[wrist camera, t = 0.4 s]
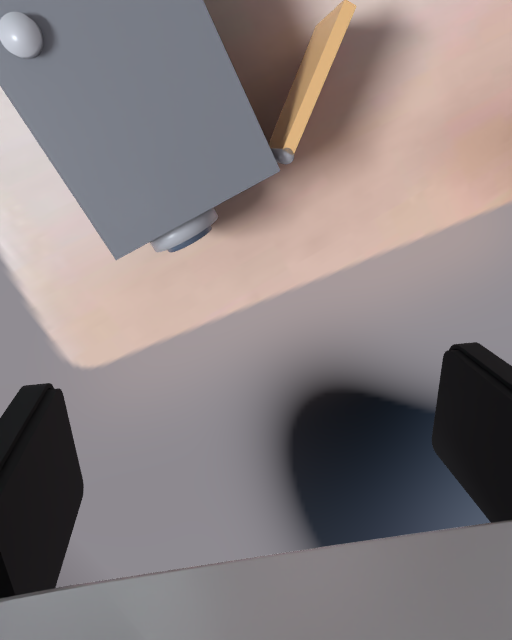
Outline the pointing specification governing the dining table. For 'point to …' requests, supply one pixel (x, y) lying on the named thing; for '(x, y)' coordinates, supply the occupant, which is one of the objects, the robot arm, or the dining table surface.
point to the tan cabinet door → (309, 81)
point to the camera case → (134, 113)
